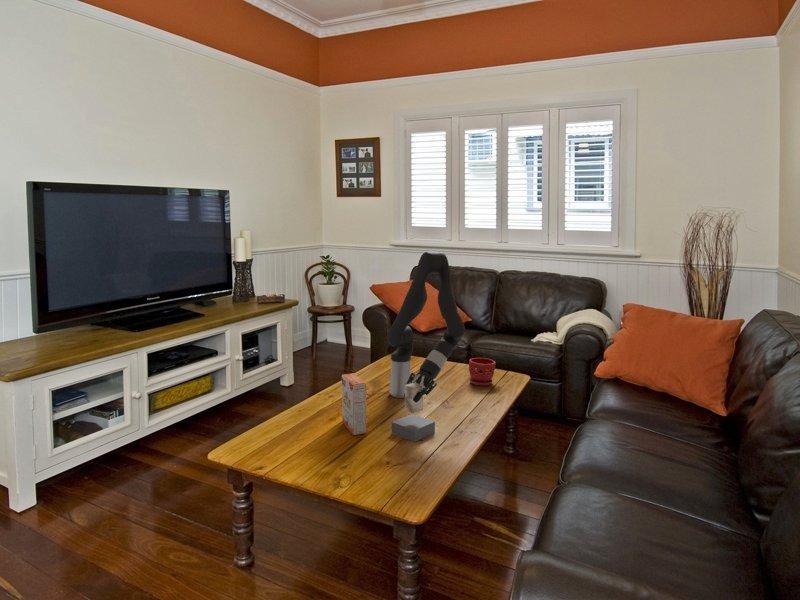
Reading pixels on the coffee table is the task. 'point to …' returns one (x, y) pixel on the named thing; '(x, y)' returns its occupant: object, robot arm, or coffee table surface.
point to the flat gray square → (413, 427)
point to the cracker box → (354, 403)
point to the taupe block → (409, 395)
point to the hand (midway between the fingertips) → (410, 399)
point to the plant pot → (481, 371)
